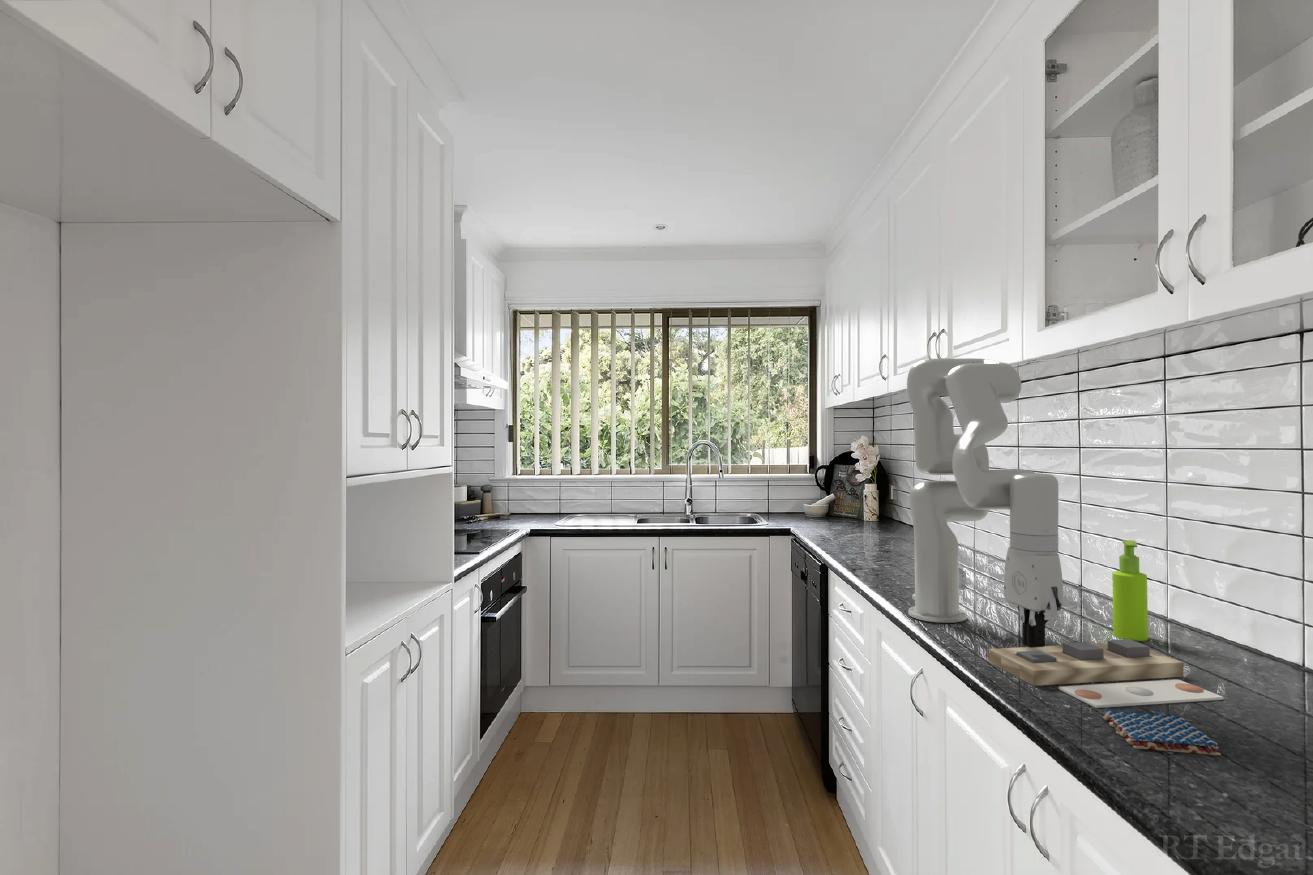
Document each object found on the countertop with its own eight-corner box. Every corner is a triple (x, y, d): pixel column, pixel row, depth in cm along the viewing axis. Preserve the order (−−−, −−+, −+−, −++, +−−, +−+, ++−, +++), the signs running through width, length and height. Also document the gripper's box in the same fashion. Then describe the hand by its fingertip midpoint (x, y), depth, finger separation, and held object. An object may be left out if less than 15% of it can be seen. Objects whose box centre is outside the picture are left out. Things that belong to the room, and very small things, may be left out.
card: (1096, 707, 103) (1095, 703, 103) (1058, 688, 111) (1058, 685, 111) (1223, 699, 106) (1223, 695, 106) (1178, 681, 114) (1178, 678, 114)
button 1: (1033, 673, 117) (1033, 659, 117) (1016, 665, 121) (1016, 651, 121) (1056, 672, 117) (1056, 658, 117) (1039, 664, 122) (1039, 650, 122)
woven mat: (1132, 752, 89) (1132, 737, 89) (1100, 720, 100) (1100, 706, 100) (1224, 760, 87) (1224, 745, 87) (1181, 727, 97) (1181, 712, 97)
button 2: (1080, 664, 118) (1080, 650, 118) (1062, 656, 122) (1062, 642, 122) (1103, 663, 118) (1103, 648, 118) (1084, 655, 123) (1084, 641, 123)
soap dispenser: (1116, 640, 138) (1114, 542, 138) (1111, 631, 144) (1110, 537, 144) (1151, 643, 135) (1149, 543, 135) (1145, 634, 141) (1143, 539, 141)
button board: (1033, 685, 113) (1033, 670, 113) (989, 662, 125) (989, 649, 125) (1183, 676, 116) (1183, 662, 116) (1126, 654, 128) (1126, 641, 128)
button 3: (1127, 661, 119) (1127, 647, 119) (1107, 654, 123) (1107, 640, 123) (1149, 660, 120) (1149, 646, 120) (1129, 652, 124) (1129, 639, 124)
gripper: (988, 536, 127) (988, 633, 127) (1043, 551, 112) (1043, 661, 112) (1025, 535, 127) (1025, 632, 128) (1084, 550, 113) (1084, 659, 113)
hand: (1033, 645), depth 120 cm, fingers closed
